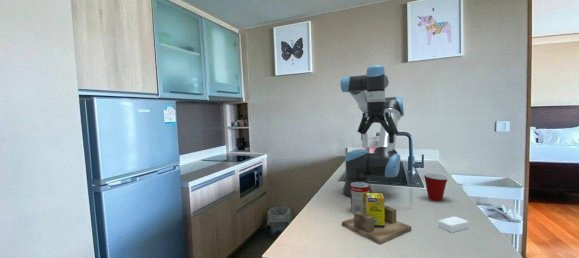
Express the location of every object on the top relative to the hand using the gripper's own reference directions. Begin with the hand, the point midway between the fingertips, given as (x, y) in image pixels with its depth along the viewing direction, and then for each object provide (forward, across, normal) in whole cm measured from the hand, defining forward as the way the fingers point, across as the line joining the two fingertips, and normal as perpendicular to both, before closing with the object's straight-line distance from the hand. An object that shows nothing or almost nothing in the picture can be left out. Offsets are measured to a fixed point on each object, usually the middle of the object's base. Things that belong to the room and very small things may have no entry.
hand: (376, 149), depth 116 cm
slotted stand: (+27, +13, -17) cm, 34 cm away
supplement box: (+25, +13, -17) cm, 33 cm away
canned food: (+27, -2, -9) cm, 28 cm away
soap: (+27, +29, +6) cm, 40 cm away
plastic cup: (+27, +9, +31) cm, 42 cm away
